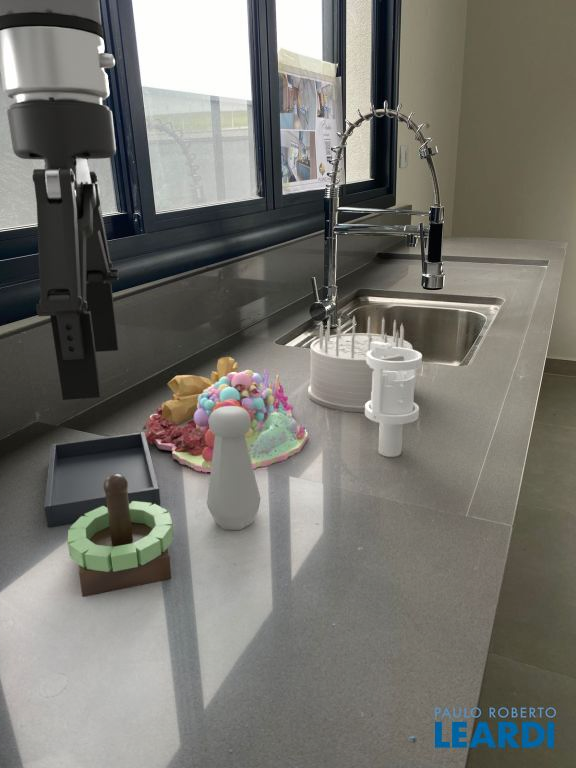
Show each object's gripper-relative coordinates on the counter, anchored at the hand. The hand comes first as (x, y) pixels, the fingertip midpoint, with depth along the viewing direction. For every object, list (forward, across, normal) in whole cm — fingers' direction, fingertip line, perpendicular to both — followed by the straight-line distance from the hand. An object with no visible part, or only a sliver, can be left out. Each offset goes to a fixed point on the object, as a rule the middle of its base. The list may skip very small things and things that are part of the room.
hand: (94, 371), depth 52 cm
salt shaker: (+20, +6, -12) cm, 24 cm away
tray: (+20, +18, +4) cm, 27 cm away
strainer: (+20, +20, -34) cm, 44 cm away
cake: (+20, +43, -36) cm, 60 cm away
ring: (+17, 0, 0) cm, 17 cm away
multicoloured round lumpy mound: (+20, +31, -13) cm, 39 cm away
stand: (+20, 0, 0) cm, 20 cm away
